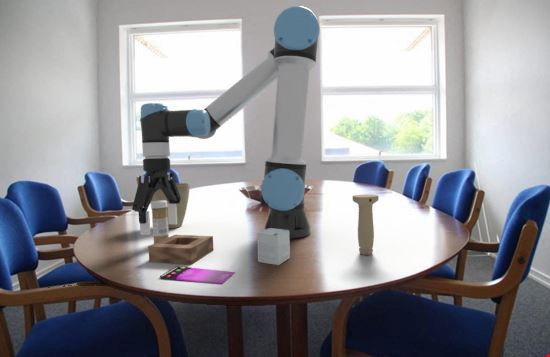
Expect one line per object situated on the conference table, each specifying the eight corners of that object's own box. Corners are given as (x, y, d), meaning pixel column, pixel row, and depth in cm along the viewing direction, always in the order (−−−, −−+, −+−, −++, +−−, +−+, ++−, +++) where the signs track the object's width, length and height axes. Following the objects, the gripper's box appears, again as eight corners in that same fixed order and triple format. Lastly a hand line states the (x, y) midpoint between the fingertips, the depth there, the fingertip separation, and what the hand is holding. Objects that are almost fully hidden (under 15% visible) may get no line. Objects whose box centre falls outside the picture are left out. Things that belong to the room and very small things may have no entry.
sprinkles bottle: (169, 242, 102) (166, 199, 101) (169, 246, 98) (167, 201, 97) (153, 244, 100) (150, 200, 99) (153, 248, 96) (150, 202, 95)
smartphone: (177, 269, 79) (177, 265, 79) (235, 273, 75) (235, 270, 75) (159, 280, 72) (158, 276, 72) (221, 286, 68) (221, 282, 68)
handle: (382, 255, 83) (381, 196, 82) (359, 257, 82) (358, 197, 81) (372, 249, 88) (371, 194, 87) (350, 252, 87) (349, 195, 85)
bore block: (213, 250, 92) (212, 236, 92) (191, 264, 81) (190, 248, 80) (175, 248, 95) (174, 234, 95) (149, 261, 84) (148, 246, 84)
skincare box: (270, 255, 86) (269, 227, 86) (290, 258, 83) (290, 229, 83) (257, 262, 81) (256, 232, 81) (278, 265, 78) (277, 235, 78)
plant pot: (200, 224, 127) (198, 183, 126) (169, 232, 115) (166, 187, 114) (173, 221, 135) (171, 182, 134) (142, 228, 123) (139, 186, 122)
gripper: (169, 157, 110) (172, 220, 112) (114, 158, 86) (119, 239, 88) (189, 156, 108) (192, 220, 110) (139, 158, 84) (143, 240, 86)
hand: (160, 229), depth 99 cm, fingers open, 13 cm apart
